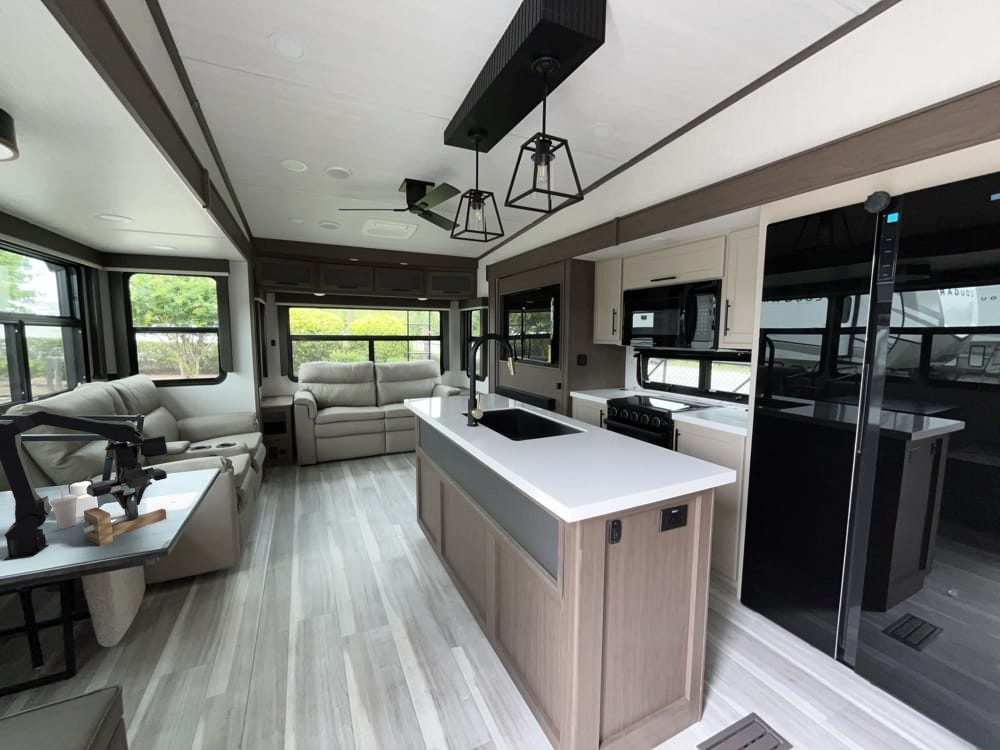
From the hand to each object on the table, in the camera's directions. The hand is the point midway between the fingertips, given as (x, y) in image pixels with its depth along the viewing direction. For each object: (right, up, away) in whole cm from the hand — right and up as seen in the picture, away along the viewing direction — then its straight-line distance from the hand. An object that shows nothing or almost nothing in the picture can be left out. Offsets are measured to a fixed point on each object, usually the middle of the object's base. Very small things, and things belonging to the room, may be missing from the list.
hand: (131, 506), depth 132 cm
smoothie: (-24, -7, +3) cm, 25 cm away
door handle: (-2, -4, -4) cm, 6 cm away
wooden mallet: (0, -8, +1) cm, 8 cm away
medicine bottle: (-28, -7, +12) cm, 31 cm away
